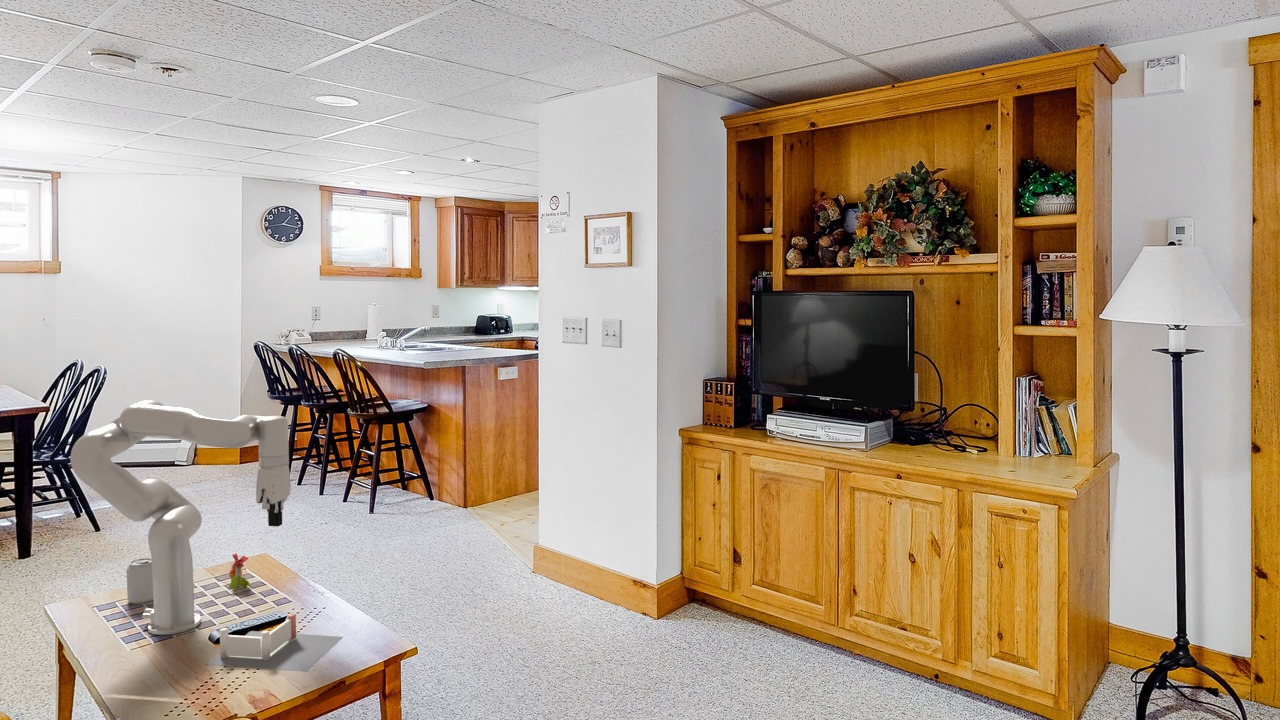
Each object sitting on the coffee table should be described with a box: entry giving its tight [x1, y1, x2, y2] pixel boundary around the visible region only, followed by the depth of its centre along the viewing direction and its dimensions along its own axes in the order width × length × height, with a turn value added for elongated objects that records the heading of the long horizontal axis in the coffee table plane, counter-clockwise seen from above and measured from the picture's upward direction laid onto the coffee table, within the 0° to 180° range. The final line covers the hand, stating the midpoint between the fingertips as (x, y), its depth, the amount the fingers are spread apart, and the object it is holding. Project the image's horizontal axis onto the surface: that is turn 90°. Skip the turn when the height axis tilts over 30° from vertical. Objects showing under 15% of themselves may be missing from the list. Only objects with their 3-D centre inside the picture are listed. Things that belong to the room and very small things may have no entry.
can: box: [126, 557, 153, 605], centre depth 231 cm, size 8×8×12 cm
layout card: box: [205, 630, 344, 672], centre depth 200 cm, size 26×19×1 cm
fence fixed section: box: [219, 627, 271, 661], centre depth 195 cm, size 13×2×7 cm, turn 85°
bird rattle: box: [228, 553, 252, 592], centre depth 242 cm, size 6×11×9 cm
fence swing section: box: [270, 613, 297, 653], centre depth 202 cm, size 11×2×6 cm, turn 172°
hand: (275, 525), depth 218 cm, fingers closed
